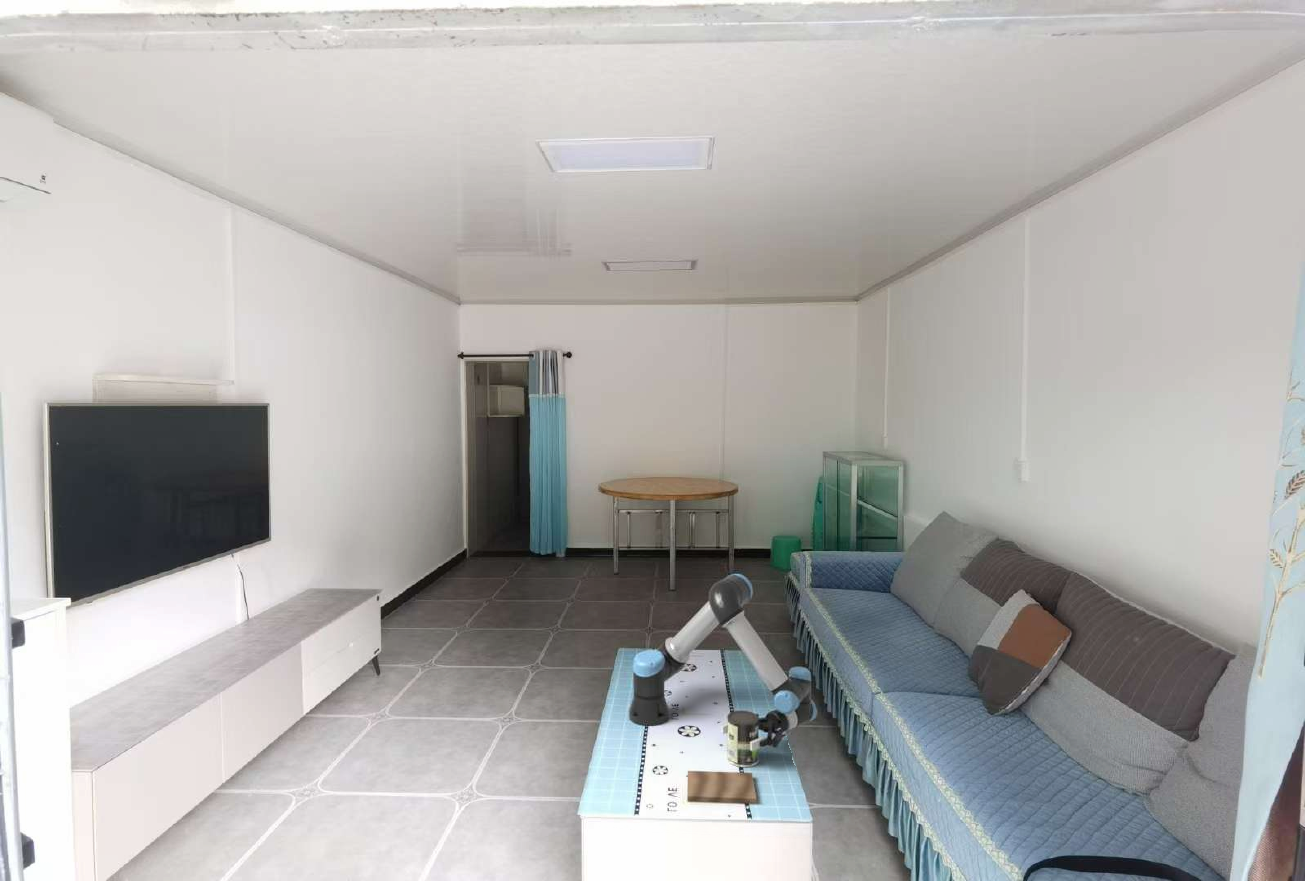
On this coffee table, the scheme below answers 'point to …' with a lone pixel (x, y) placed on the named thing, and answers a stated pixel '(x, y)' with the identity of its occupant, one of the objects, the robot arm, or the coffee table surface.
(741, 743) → the coffee can
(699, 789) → the walnut board
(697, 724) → the coffee table surface
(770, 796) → the coffee table surface
